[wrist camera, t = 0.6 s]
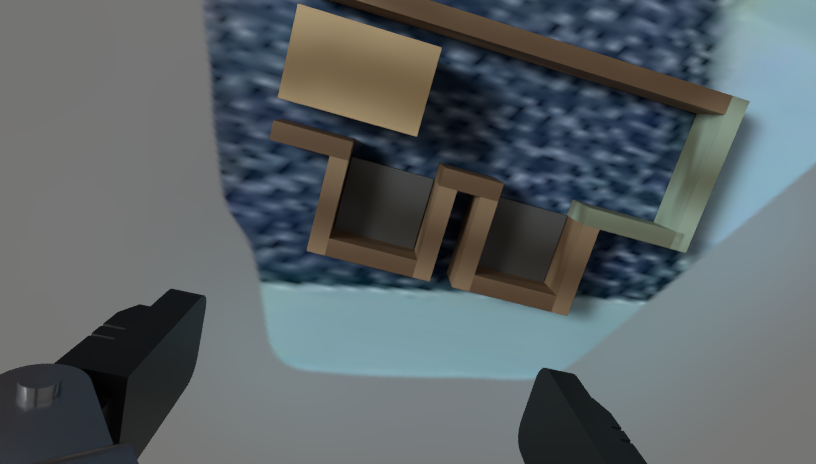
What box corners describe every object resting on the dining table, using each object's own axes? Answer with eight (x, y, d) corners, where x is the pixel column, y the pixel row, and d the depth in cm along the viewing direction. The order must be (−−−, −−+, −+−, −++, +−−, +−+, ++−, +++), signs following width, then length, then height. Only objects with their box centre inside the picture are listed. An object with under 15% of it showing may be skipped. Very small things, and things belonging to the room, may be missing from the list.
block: (312, 21, 33) (297, 3, 27) (431, 57, 34) (441, 47, 28) (295, 98, 34) (277, 97, 28) (410, 131, 35) (416, 136, 29)
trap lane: (314, -26, 32) (307, -39, 29) (719, 101, 35) (749, 101, 32) (259, 225, 36) (248, 236, 33) (630, 319, 39) (650, 336, 36)
